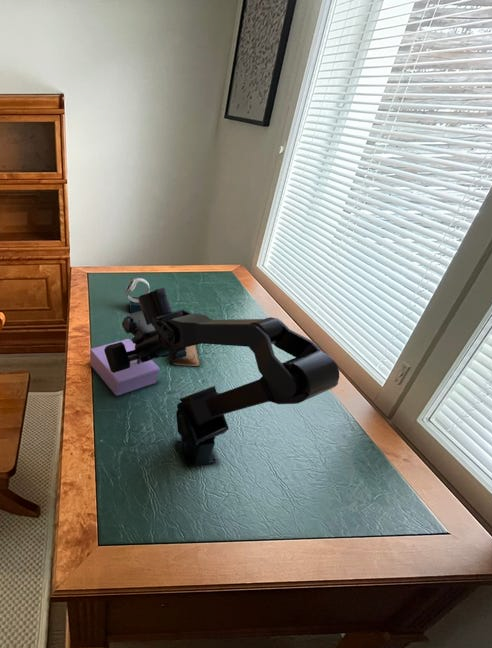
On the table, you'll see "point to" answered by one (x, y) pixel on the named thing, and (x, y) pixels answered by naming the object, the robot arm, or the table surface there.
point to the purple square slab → (136, 366)
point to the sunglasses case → (188, 358)
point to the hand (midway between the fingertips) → (129, 356)
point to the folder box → (124, 386)
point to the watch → (134, 300)
